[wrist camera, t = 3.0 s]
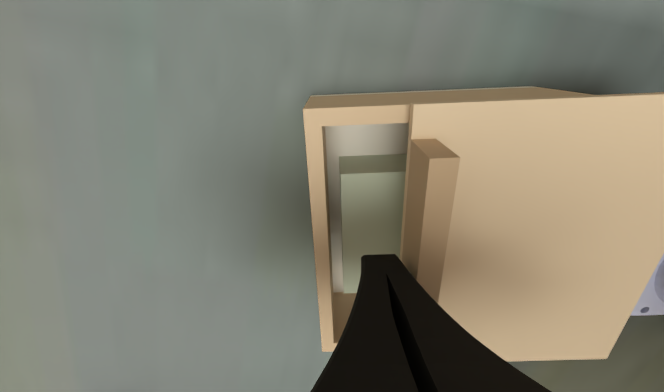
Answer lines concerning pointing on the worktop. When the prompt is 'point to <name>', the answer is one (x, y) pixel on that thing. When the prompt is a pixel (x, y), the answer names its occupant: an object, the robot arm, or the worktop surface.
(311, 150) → the base
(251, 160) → the worktop surface
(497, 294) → the lid
